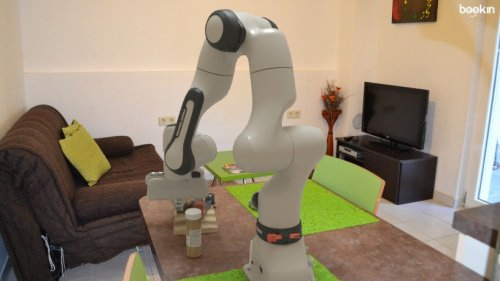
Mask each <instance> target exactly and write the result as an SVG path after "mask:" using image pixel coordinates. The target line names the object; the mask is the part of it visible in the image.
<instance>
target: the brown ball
mask: <svg viewBox="0 0 500 281" xmlns="http://www.w3.org/2000/svg"><path fill="white" fill-rule="evenodd" d="M186 201H187V208H191V207H192V201H193V199H192V198H188V199H186Z"/></svg>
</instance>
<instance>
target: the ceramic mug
mask: <svg viewBox="0 0 500 281" xmlns="http://www.w3.org/2000/svg"><path fill="white" fill-rule="evenodd" d="M259 191H260V190H257V191H255V192H253V193H252V196H251V197H250V198H251V199H250V200H249V201H248V205H249V206H250V207H251V206H252V207H253V209H255V211H257V212H258V196H259Z"/></svg>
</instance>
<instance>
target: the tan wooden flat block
mask: <svg viewBox="0 0 500 281" xmlns="http://www.w3.org/2000/svg"><path fill="white" fill-rule="evenodd" d="M175 203H176V205H180V204H181V203H182V199H175ZM216 203H217V202H216V201H215V203H214V204H212V205H211V206H210V208H209V209H208V211H207V212H206V214H205V216H204V218H203V219H202V218H201V234H209V233H211V234H212V233H219V232H218V231H219V227H218V224H217V223H218V222H217V219H216V214H215V208H214V206H215V205H216ZM191 208H192V207H191ZM191 208H187V201H186V203H185V204H184V206H183V211H173V236H179V235H182V236H183V235H186V218H185V211H186V210H188V209H191Z"/></svg>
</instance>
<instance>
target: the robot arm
mask: <svg viewBox="0 0 500 281" xmlns="http://www.w3.org/2000/svg"><path fill="white" fill-rule="evenodd" d="M204 25H205V27H204V34H205V39H204V41H203V43H202V46H201V49H200V53H199V56H198V59H197V64H196V68H195V72H194V76H193V79H192V82H191V84H190V87H189V89H188V90H187V92H186V94H185V96H184V98H183V101H182V104H181V107H180V110H179V114H178V117H177V120H176V122H175V123H170V124H167V125H166V126H165V127H164V129H163V131H162V132H163V133H162V152H163V171H155V172H154V171H150V172H149V173H147V174H146V175H145V177H144V180H145V181H144V182H145V184H146V185H147V188H146V199H147V200H149V201H165V200H166V201H167V200H170V204H171V205H172V206H173V210H174V211H183V206H184V204H185V203H186V199H188V198H190V199H194V198H203V199H205V198H206V197H207V196H208V195H209V193H210V192H209V184H208V181H207V176H206V175H205V169H204V167H203V166H205V165H208V164H210V163H211V162H213V161H214V160H215V158H216V156H217V153H218V152H217V150H218V149H217V145H216V142H215V140H214V139H213V138H212V137H211V136H209V135H207V134H202V133H200V132H199V131H198V129H199V124H200V122H201V119H202V117H203V116H204V114H205V113H206V112H207V111H208V110H209V109H210V108H211V107H213V106H214V105H216V104H218V102H220V101H222V100H223V99H224V98H226V96H227V95H228V93H229V91H230V90H231V87H232V85H233V82H234V81H233V80H234V76H235V72H236V65H237V62H238V60H239V58H240V57H242V56H246V58H247V61H248V67H249V69H248V70H249V77H250V86H251V99H252V100H251V101H252V104H251V106H252V107H251V112H250V115H249V116H250V117H249V119H248V122H247V123H246V126H245V127H244V129H243V130H242V131H241V132H240V134H239V135H237V137H236V138H235V140H234V142H233V145H232V157H233V160H234V163H235V164H236V167H238V168H239V170H241V171H242V172H243V173H247V174H267V173H273V175H272V176H271V178H270V179H268V180H267V181H266V182H265V183H264V184H263V185H262V186H261V187H260V189H259V190H258V191H259V196H258V211H257V212H258V213H257V218H256V219H255V220H256V221H255V232H256V234H255V235H254V236H253V238H252V239H251V240H250V241H249V242H250V245H249V256H248V257H249V258H248V259H249V261H248V263H246V264H244V266H243V267H242V268H243V269H242V271H243V272H244V274H245V276H246V277H247V279H248V280H249V281H316V278H315V273H314V269H313V268H314V265H315V263H314V258H313V257H310V256H307V252H310V250H309V249H310V247H309V246H307V245H305V244H306V243H305V237H304V235H303V225H302V224H303V222H302V219H301V211H302V210H301V207H302V199H303V193H304V189H305V186H306V184H307V181H308V178H309V177H310V175H311V173H312V172H313V170H314V169H315V167H316V166H317V165H318V164H319V163H320V162H321V161H322V160H323V159H324V158H325V155H326V153H327V148H328V143H327V138H326V136H325V134H324V133H323V131H322V130H321V129H320V128H319V127H317V126H314V125H306V124H296V125H285V126H283V118H284V114H285V112H286V111H288V110H289V109H291V108H292V107H293V106H294V104H295V102H296V100H297V97H298V96H297V89H296V88H297V87H296V81H295V73H294V66H293V65H294V64H293V58H292V55H291V50H290V47H289V44H288V40H287V38H286V37H287V36H286V35H285V34H284V33H283V32H282V30H280V29H279V28H278V26H277V24H276V23H275V22H274V21H273V20H271V19H269V18H267V17H264V16H259V15H256V14H253V13H250V12H248V11H240V10H231V9H228V8H226V9H225V8H223V9H218V10H214V11H212V12H211V13H210V15H209V16H208V17H207V19H206V23H205V24H204ZM176 199H182V203H181V204H180V205H176ZM174 211H173V212H174Z"/></svg>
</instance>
